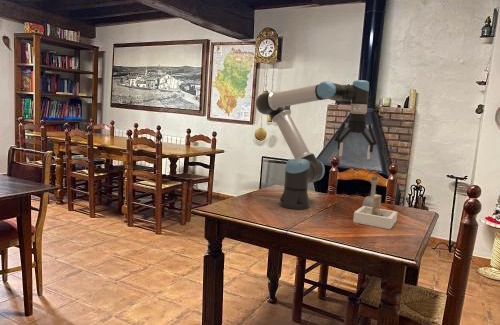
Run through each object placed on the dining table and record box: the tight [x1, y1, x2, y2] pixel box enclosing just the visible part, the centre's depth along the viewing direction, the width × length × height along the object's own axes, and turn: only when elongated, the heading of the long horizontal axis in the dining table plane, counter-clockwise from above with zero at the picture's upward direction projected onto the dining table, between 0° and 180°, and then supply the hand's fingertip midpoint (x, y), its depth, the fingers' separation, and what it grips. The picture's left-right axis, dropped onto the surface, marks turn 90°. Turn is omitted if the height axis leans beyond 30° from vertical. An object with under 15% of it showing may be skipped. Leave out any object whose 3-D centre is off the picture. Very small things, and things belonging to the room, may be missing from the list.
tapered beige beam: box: [372, 194, 382, 216], centre depth 166 cm, size 2×4×11 cm, turn 149°
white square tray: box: [352, 205, 398, 230], centre depth 166 cm, size 16×16×4 cm
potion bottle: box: [362, 175, 382, 208], centre depth 185 cm, size 9×9×18 cm
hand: (354, 157), depth 180 cm, fingers open, 13 cm apart
